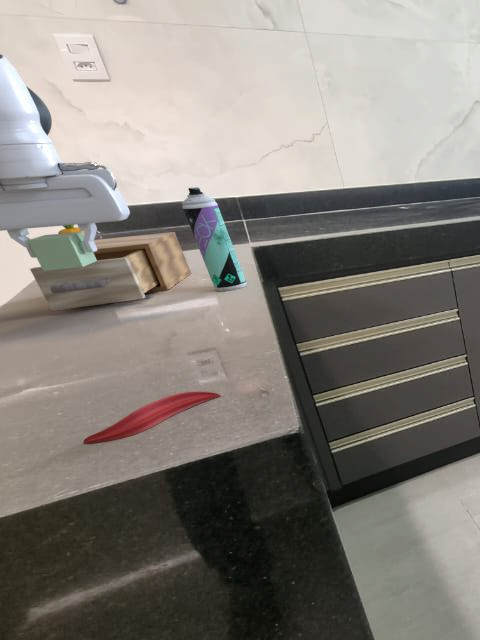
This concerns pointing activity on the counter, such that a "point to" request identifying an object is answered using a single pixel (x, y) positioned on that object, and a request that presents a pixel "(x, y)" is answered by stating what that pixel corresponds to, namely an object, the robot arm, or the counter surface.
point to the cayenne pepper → (151, 415)
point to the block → (61, 251)
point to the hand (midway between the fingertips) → (65, 254)
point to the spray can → (213, 241)
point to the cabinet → (153, 255)
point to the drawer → (98, 280)
